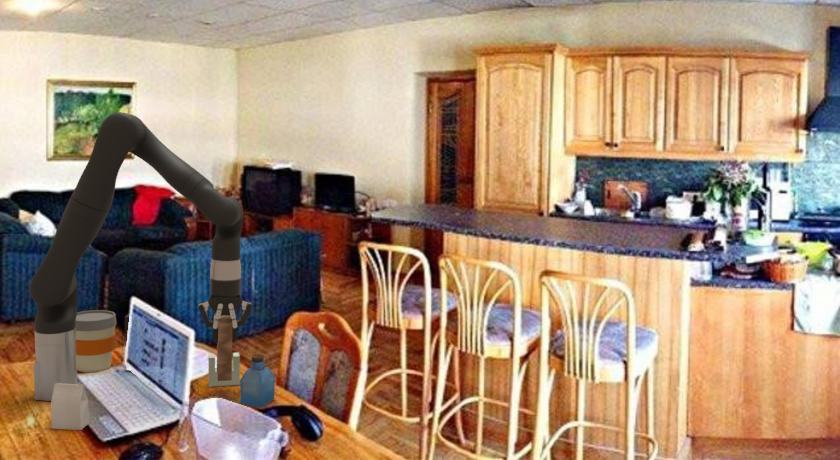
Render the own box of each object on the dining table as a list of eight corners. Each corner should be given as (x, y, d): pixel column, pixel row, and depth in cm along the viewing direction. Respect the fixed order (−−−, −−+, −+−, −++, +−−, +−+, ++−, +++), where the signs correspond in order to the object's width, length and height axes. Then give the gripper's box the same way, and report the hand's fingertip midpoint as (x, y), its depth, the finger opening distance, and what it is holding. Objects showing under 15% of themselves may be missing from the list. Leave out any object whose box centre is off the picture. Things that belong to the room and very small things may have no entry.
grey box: (80, 430, 164) (79, 387, 162) (51, 428, 164) (50, 386, 163) (88, 423, 167) (87, 382, 166) (60, 422, 168) (58, 380, 166)
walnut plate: (217, 381, 183) (218, 323, 181) (216, 370, 191) (217, 315, 189) (231, 380, 184) (232, 323, 182) (230, 370, 192) (230, 315, 190)
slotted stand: (208, 386, 193) (208, 358, 192) (208, 382, 197) (208, 354, 195) (239, 384, 196) (239, 356, 195) (238, 380, 199) (238, 352, 198)
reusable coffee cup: (86, 358, 212) (84, 308, 210) (126, 361, 211) (125, 311, 209) (59, 372, 200) (57, 319, 198) (101, 375, 198) (100, 322, 196)
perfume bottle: (274, 399, 187) (274, 354, 185) (261, 407, 181) (261, 361, 179) (253, 395, 189) (253, 351, 187) (240, 403, 183) (240, 357, 181)
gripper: (196, 279, 178) (196, 346, 181) (255, 278, 183) (253, 344, 185) (196, 273, 186) (196, 338, 188) (252, 272, 190) (251, 336, 192)
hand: (224, 341), depth 186 cm, fingers closed on walnut plate, 3 cm apart
